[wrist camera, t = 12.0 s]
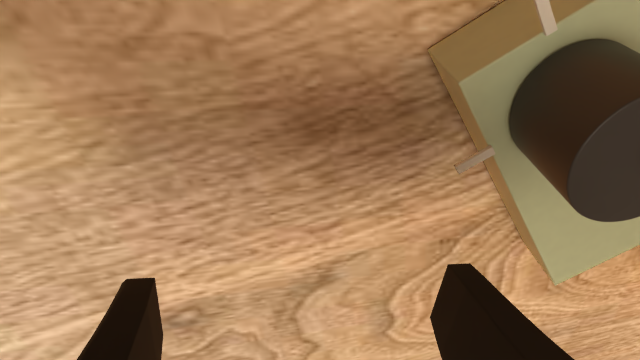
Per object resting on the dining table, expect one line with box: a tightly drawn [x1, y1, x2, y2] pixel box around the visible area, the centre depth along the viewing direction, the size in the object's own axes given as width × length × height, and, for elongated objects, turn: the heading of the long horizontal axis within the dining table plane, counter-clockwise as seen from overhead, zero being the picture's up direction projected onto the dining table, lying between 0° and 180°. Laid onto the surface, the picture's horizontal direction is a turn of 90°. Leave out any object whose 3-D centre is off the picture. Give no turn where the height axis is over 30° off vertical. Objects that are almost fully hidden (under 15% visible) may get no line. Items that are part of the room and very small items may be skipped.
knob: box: [509, 39, 640, 222], centre depth 14 cm, size 4×4×4 cm
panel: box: [428, 0, 640, 285], centre depth 18 cm, size 13×11×3 cm
